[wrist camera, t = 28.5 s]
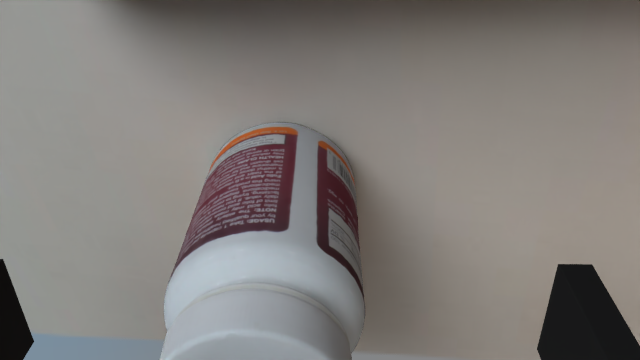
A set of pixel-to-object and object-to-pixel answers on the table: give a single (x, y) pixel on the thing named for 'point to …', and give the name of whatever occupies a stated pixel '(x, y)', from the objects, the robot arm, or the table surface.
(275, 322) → the pill bottle
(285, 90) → the table surface
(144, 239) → the table surface
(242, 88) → the table surface
